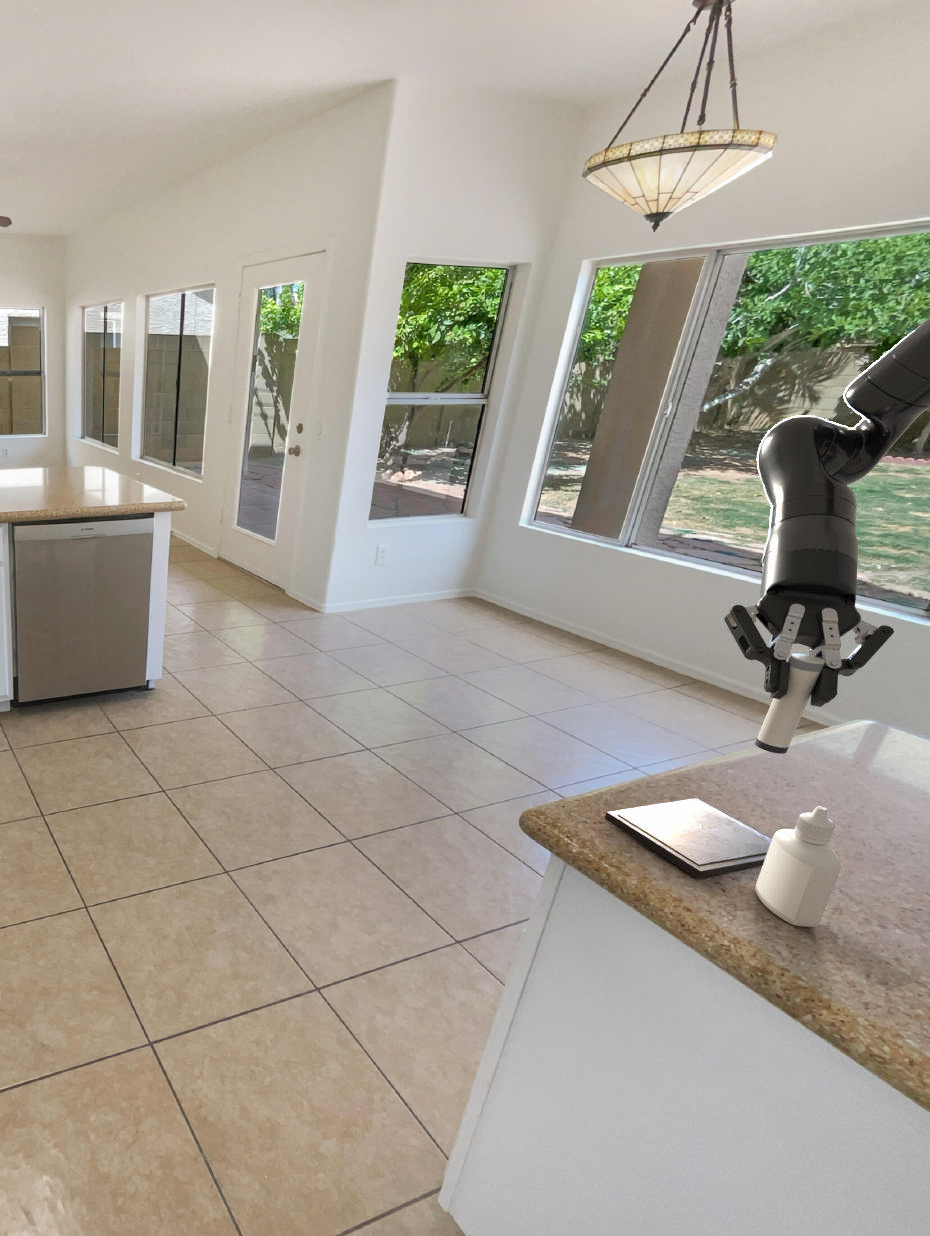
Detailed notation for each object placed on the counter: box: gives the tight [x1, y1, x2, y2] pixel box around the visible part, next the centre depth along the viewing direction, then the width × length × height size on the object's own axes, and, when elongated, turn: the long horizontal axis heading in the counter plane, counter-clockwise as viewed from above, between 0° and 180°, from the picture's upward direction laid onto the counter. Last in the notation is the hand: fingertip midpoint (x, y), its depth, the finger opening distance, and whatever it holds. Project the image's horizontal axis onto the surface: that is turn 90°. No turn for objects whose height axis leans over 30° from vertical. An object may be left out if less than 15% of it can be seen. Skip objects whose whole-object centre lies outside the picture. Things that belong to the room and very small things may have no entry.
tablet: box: [604, 798, 773, 880], centre depth 80 cm, size 14×11×1 cm
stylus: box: [754, 653, 825, 755], centre depth 76 cm, size 3×3×11 cm
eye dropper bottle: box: [754, 805, 842, 928], centre depth 68 cm, size 4×6×12 cm
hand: (799, 699), depth 74 cm, fingers closed on stylus, 2 cm apart
